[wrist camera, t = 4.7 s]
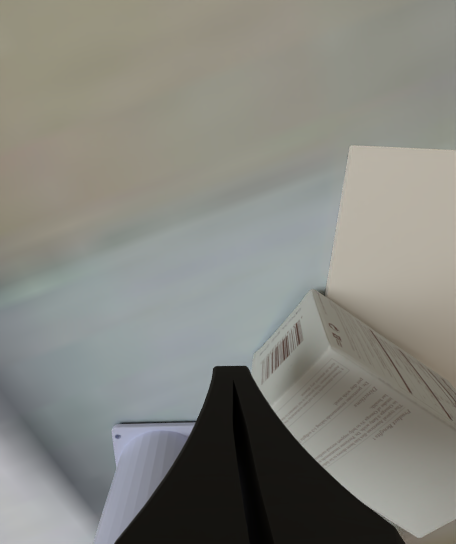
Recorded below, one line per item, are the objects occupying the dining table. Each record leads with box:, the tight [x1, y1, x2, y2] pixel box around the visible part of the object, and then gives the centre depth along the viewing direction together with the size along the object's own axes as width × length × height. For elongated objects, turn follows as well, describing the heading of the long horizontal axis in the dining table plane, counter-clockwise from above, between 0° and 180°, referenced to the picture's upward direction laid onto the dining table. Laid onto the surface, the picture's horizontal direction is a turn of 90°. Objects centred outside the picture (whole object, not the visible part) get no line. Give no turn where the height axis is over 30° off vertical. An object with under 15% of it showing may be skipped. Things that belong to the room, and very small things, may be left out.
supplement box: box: [251, 289, 456, 538], centre depth 18 cm, size 7×7×13 cm
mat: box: [325, 145, 456, 389], centre depth 21 cm, size 20×14×1 cm
